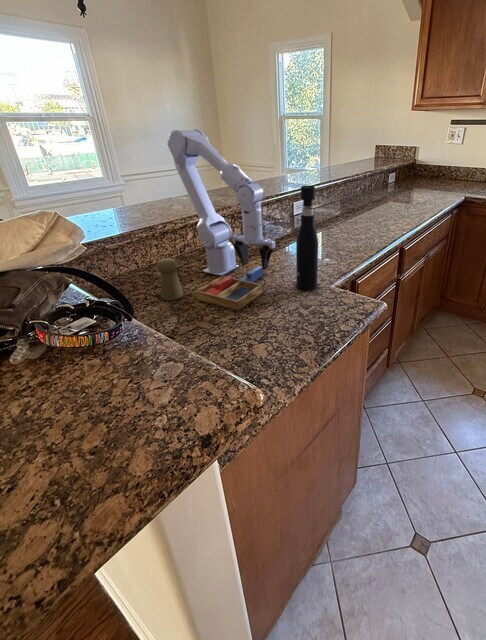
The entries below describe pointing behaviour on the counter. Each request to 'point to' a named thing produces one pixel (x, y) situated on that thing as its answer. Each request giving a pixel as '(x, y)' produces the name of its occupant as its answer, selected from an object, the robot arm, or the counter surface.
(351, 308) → the counter surface
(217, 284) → the red spoon
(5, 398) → the counter surface
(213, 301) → the wooden sorting tray
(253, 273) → the blue spoon
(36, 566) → the counter surface
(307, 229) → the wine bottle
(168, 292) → the olive green pawn
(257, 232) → the robot arm
